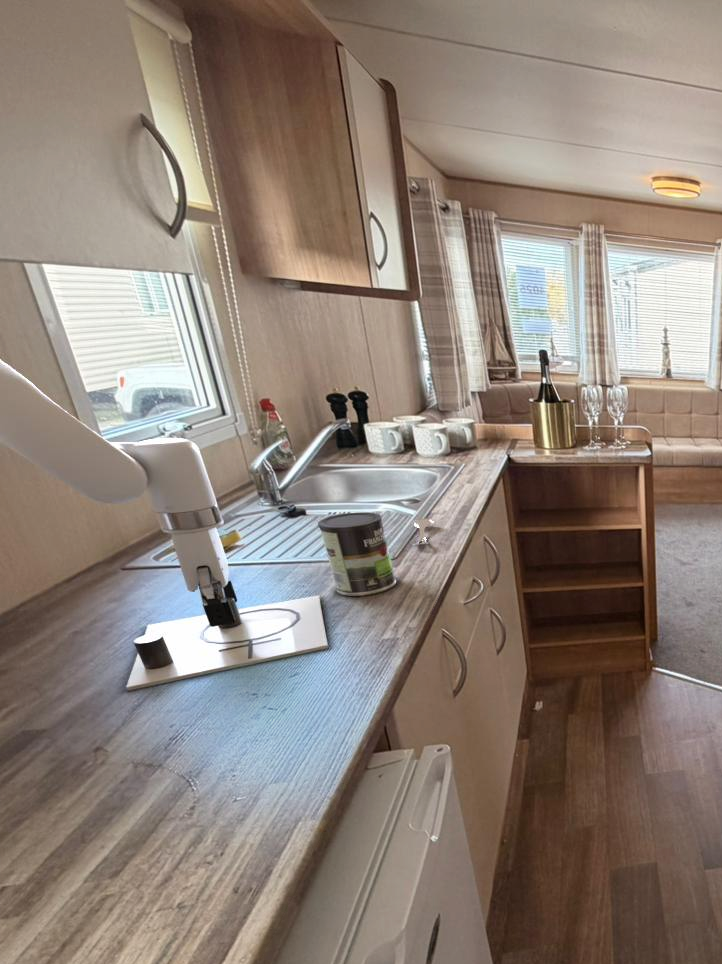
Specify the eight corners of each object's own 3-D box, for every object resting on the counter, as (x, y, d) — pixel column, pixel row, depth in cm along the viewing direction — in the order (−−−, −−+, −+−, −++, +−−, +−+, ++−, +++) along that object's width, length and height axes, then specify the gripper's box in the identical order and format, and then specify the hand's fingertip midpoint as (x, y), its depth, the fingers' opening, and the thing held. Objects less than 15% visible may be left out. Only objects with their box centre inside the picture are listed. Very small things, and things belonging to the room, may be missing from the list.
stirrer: (428, 534, 147) (405, 536, 145) (431, 548, 148) (408, 551, 146) (432, 515, 164) (411, 517, 162) (435, 528, 165) (414, 530, 163)
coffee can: (407, 577, 134) (392, 512, 128) (377, 597, 124) (360, 528, 118) (357, 575, 133) (340, 510, 128) (324, 595, 124) (304, 526, 118)
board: (127, 691, 92) (125, 686, 92) (149, 627, 109) (147, 624, 109) (328, 648, 106) (327, 644, 105) (319, 598, 123) (318, 594, 123)
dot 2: (217, 630, 108) (209, 606, 106) (218, 623, 111) (210, 599, 109) (242, 626, 110) (233, 602, 108) (242, 619, 112) (234, 595, 110)
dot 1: (143, 671, 96) (131, 645, 94) (146, 662, 98) (134, 636, 96) (172, 665, 98) (161, 639, 96) (174, 657, 100) (163, 631, 98)
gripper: (164, 507, 106) (199, 600, 113) (151, 536, 94) (191, 638, 101) (223, 502, 111) (253, 592, 118) (218, 528, 98) (252, 627, 105)
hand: (224, 613), depth 109 cm, fingers open, 9 cm apart
